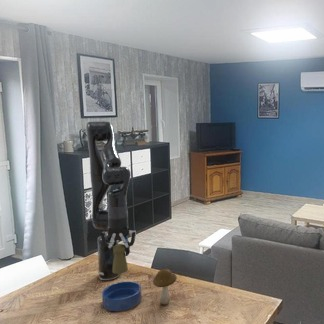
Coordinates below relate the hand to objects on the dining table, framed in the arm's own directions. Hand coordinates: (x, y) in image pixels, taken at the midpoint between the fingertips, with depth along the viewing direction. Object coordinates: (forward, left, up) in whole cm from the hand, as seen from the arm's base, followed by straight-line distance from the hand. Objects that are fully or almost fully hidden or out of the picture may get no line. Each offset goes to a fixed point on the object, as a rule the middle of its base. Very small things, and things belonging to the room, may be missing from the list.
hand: (119, 255), depth 139 cm
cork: (0, 0, -7) cm, 7 cm away
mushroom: (+3, +18, -21) cm, 28 cm away
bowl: (0, 0, -21) cm, 21 cm away
